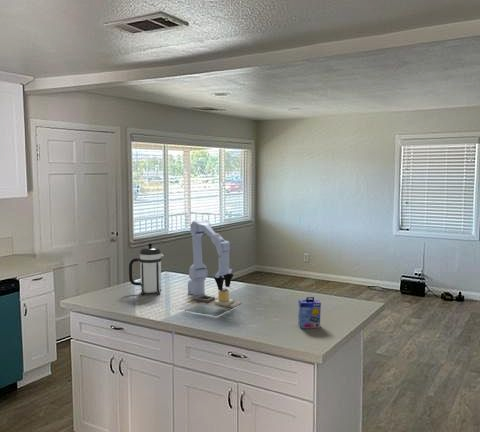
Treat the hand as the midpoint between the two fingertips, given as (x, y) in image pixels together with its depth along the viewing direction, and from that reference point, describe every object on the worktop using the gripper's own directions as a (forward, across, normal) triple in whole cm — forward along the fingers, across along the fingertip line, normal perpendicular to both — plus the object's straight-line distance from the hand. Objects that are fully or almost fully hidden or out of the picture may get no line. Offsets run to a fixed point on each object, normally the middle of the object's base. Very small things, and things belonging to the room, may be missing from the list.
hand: (223, 288), depth 260 cm
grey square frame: (+9, 0, +12) cm, 15 cm away
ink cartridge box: (+9, -11, -53) cm, 55 cm away
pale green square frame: (+9, 0, 0) cm, 9 cm away
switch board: (+9, 0, +6) cm, 11 cm away
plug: (+8, 0, 0) cm, 8 cm away
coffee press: (+10, 0, +52) cm, 53 cm away
